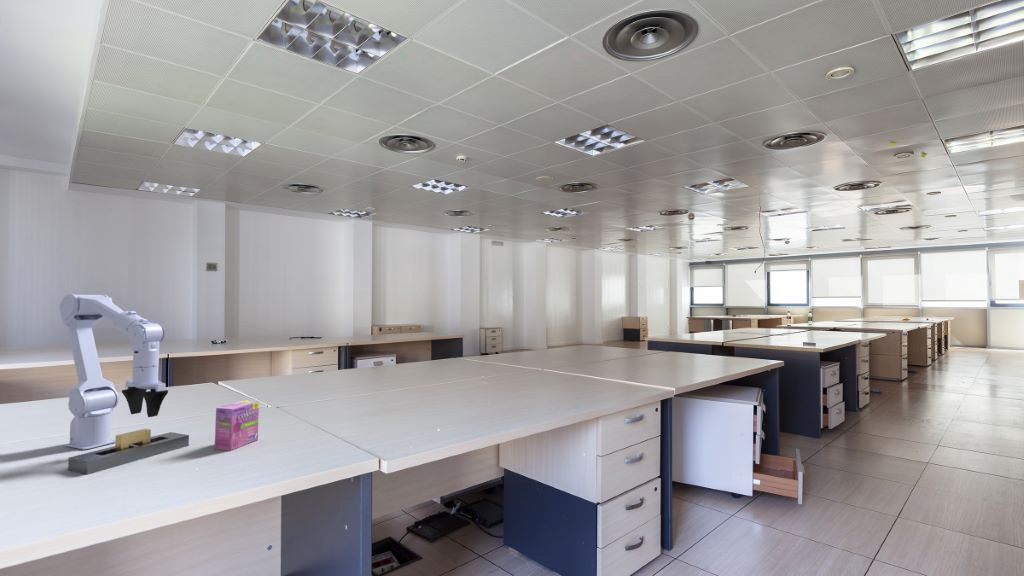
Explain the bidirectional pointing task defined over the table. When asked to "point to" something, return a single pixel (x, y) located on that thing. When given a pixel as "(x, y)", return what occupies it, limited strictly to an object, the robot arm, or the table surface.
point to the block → (126, 453)
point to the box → (236, 425)
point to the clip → (132, 439)
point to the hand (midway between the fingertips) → (144, 414)
